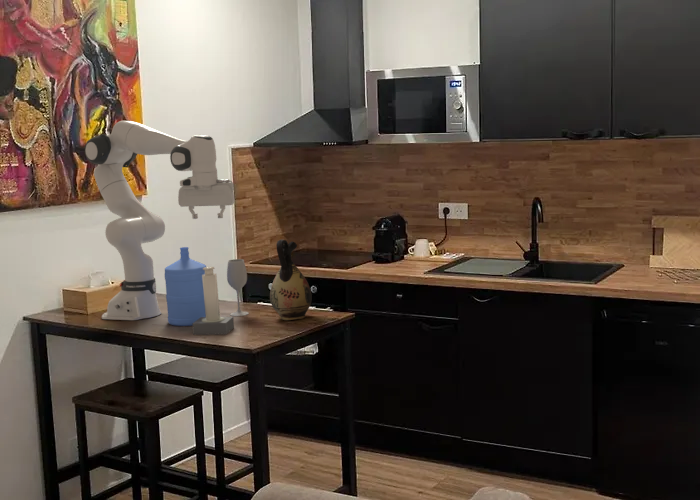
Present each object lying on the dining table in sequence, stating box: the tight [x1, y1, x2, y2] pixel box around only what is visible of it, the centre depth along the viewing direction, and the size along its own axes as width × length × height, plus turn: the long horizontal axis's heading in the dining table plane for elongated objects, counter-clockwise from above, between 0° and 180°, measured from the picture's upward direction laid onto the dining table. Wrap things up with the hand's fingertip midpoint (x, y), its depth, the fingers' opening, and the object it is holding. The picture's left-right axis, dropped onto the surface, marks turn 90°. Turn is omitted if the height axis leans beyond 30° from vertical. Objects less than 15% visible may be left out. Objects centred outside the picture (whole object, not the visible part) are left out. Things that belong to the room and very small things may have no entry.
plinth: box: [192, 316, 235, 335], centre depth 316 cm, size 12×10×4 cm
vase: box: [202, 266, 221, 321], centre depth 314 cm, size 5×5×18 cm
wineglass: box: [226, 258, 249, 317], centre depth 340 cm, size 8×8×21 cm
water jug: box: [164, 246, 207, 327], centre depth 331 cm, size 16×16×28 cm
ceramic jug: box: [269, 239, 313, 321], centre depth 329 cm, size 17×15×30 cm
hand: (207, 218), depth 321 cm, fingers open, 8 cm apart
